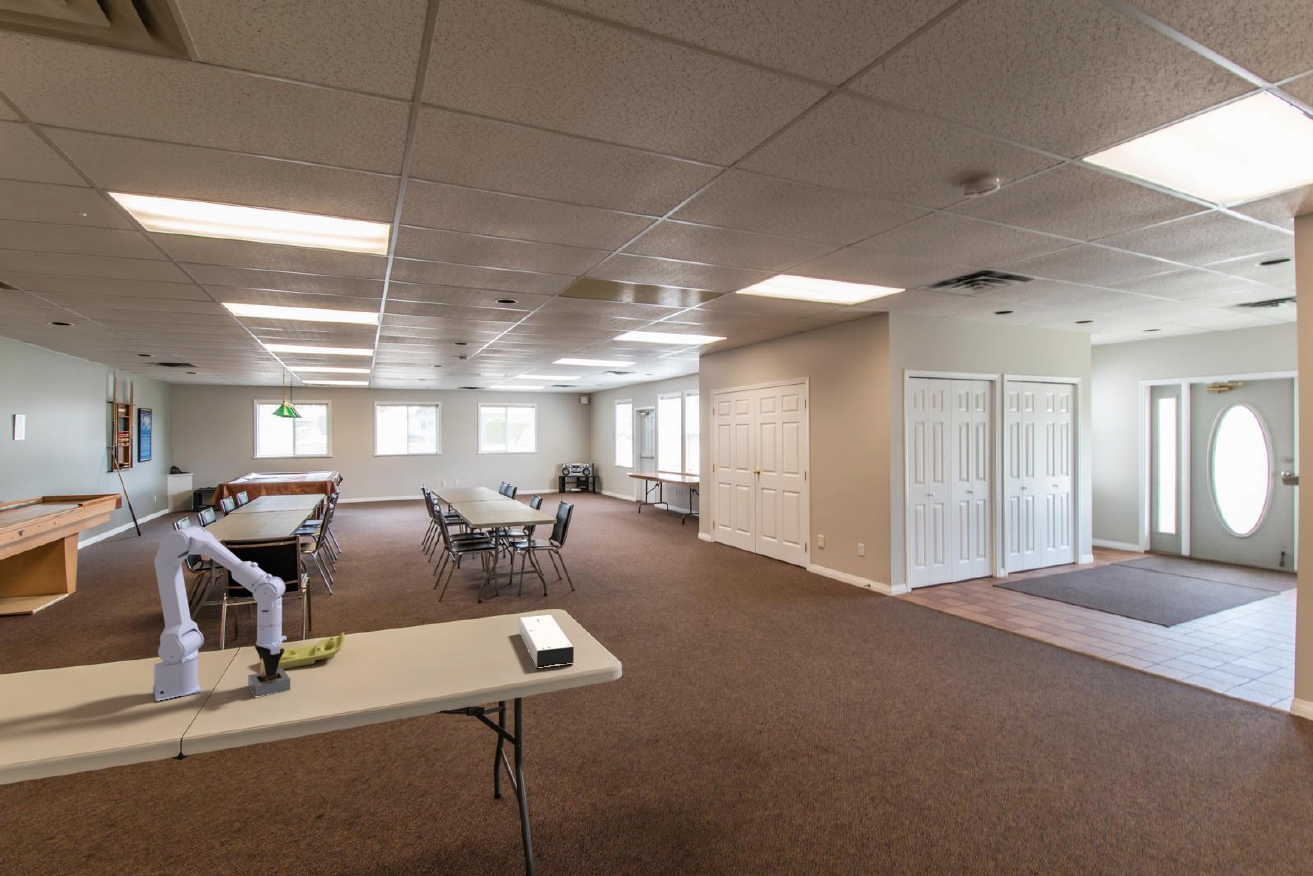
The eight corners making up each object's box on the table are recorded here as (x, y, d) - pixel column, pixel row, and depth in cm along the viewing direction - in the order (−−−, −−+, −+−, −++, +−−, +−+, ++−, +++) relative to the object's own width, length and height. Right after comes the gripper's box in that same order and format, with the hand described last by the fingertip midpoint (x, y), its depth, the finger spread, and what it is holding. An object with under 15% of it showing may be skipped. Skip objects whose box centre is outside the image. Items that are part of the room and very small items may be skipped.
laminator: (519, 635, 217) (519, 617, 217) (553, 631, 221) (554, 614, 221) (536, 671, 185) (537, 651, 185) (577, 666, 190) (577, 646, 189)
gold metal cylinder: (260, 686, 166) (261, 660, 166) (260, 681, 169) (260, 656, 169) (278, 683, 168) (278, 658, 168) (277, 678, 172) (277, 653, 172)
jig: (255, 698, 163) (255, 687, 162) (248, 686, 170) (248, 675, 170) (290, 689, 168) (290, 678, 168) (281, 678, 175) (281, 667, 175)
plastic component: (267, 664, 179) (272, 639, 187) (271, 682, 183) (276, 657, 191) (343, 651, 187) (344, 628, 195) (345, 669, 190) (347, 645, 198)
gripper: (292, 627, 166) (292, 677, 166) (280, 614, 177) (279, 661, 177) (262, 632, 161) (261, 684, 161) (251, 619, 172) (250, 667, 172)
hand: (269, 673), depth 169 cm, fingers closed on gold metal cylinder, 4 cm apart
